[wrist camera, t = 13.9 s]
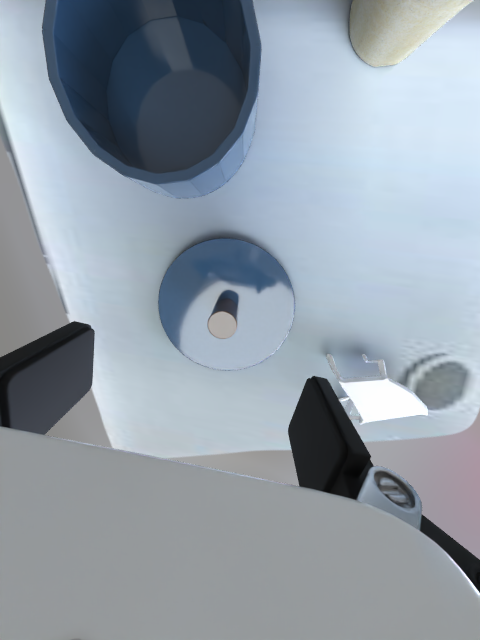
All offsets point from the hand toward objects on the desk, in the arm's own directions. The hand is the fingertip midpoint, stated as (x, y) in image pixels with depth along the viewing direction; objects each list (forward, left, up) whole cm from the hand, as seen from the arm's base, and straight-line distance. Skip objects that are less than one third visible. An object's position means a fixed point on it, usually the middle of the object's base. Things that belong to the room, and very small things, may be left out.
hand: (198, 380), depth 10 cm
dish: (-15, -8, -17) cm, 24 cm away
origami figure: (+6, +18, -17) cm, 26 cm away
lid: (+1, 0, -16) cm, 16 cm away
